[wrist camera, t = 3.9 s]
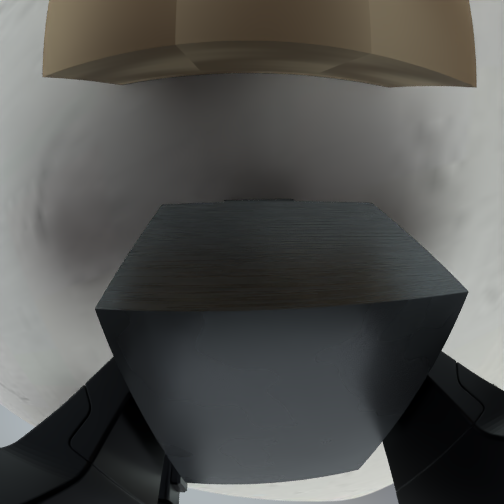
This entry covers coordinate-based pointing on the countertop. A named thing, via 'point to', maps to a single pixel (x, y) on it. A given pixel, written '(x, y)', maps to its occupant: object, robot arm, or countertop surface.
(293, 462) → the grey rectangular block
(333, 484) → the countertop surface
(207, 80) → the countertop surface
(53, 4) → the wooden desk organizer
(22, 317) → the countertop surface
